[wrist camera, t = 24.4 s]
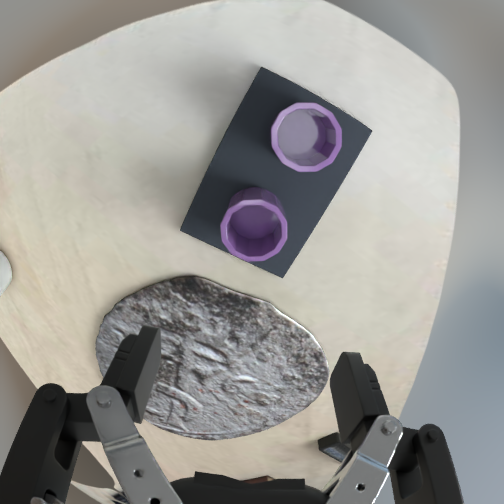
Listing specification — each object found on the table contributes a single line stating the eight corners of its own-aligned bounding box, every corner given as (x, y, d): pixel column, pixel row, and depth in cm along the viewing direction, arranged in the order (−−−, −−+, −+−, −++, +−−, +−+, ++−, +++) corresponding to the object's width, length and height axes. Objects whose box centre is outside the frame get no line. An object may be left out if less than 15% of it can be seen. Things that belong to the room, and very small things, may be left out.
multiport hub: (337, 431, 48) (339, 441, 46) (365, 451, 52) (367, 460, 50) (316, 440, 49) (318, 450, 47) (347, 458, 54) (349, 467, 52)
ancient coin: (85, 393, 45) (84, 394, 44) (128, 233, 31) (126, 234, 31) (247, 453, 51) (247, 455, 51) (369, 344, 38) (370, 346, 37)
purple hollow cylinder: (286, 93, 25) (292, 89, 21) (339, 123, 26) (353, 126, 22) (258, 145, 27) (258, 151, 23) (311, 173, 28) (320, 184, 24)
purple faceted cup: (241, 176, 28) (238, 188, 24) (293, 203, 29) (299, 218, 25) (216, 226, 30) (210, 244, 26) (266, 249, 31) (267, 271, 27)
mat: (261, 67, 24) (261, 66, 24) (370, 130, 26) (372, 130, 26) (180, 228, 31) (179, 230, 31) (282, 275, 33) (282, 278, 33)
